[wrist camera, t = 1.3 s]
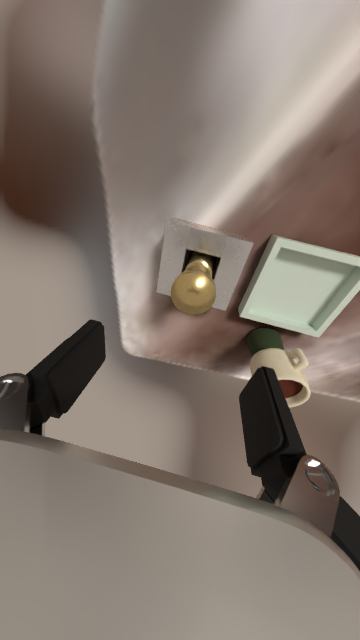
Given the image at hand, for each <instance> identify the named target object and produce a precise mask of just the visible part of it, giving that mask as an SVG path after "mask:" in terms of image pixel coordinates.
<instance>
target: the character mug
mask: <svg viewBox="0 0 360 640" xmlns="http://www.w3.org/2000/svg"><path fill="white" fill-rule="evenodd" d="M247 343H248V346H249V349H250V351H251V354H252V356H253V357H252V358H251V364H250V369H251V373H252V376H253V374H254V373H255V371H256V370H257V369H258V368H261V367H262V366H265V367H269V368H272V369H274V370H275V373H276V375H277V378H278V381H279V384H280V386H281V389H282V392H283V394H284V397H285V399H286V401H287V404H288V406H289V407H295V406H298V405H301V404H303V403H304V402H306V401H307V400H308V399H309V397H310V394H311V391H310V388H309V385H308V383H307V381H306V379H305V376H304V374H303V372H302V369H304V368H305V367H307V366H308V364H309V363H308V360H307V358H306V357H305V355H304V353H303V352H302V350H301V349H299V348H296V349H294V350H293V351H292V352H290V353H288V352H287V351H284V348H283V344H282V340H281V337H280V334H279V333H278V332H277V331H276V330H274V329H270V328H259V329H256V330H253V331H252V332H251V333H250V334H249V335H248V338H247ZM296 357H298V359H299V362H297V361H296V359H295V358H296Z"/></svg>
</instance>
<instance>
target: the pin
mask: <svg viewBox="0 0 360 640" xmlns="http://www.w3.org/2000/svg"><path fill="white" fill-rule="evenodd" d="M212 263H213V257H212V255H209V254H205V253H201V252H197V251H195V252H194V253H193V255H192V257H191V259H190V261H189V263H188V265H187V267H186V269H185V271H184V272H182V273H181V274H179V275H178V276H177V278H176V279H175V281H174V283H173V285H172V287H171V299H172V301H173V303H174V305H175V306H176V307H177V308H178V309H179V310H180V311H182V312H184V313H187V314H192V315H197V314H201V313H204V312H206V311H207V310H209V309H210V308H211V307H212V305H213V304H214V302H215V298H216V286H215V283H214V280H213V279H212Z"/></svg>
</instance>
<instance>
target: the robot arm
mask: <svg viewBox="0 0 360 640" xmlns="http://www.w3.org/2000/svg"><path fill="white" fill-rule="evenodd" d="M105 357H106V355H105V336H104V326H103V325H102V323H101V322H99V321H95V320H89V321H88V322H87V323H86V324H85V325H83V326H82V327H81V328H80V329H79V330H78V331H76V333H74V334H73V335H72V336H71V337H70V338H68V339H66V340H65V341H64V342H63V343H62V344H60V345H59V346H58V347H57V348H56V349H55V350H54V351H52V353H50V354H49V355H48V356H47V357H46V358H44V359H43V360H42V361H41V362H40V363H39V364H38V365H37V366H35V367H34V368H33V369H32V370H31V371H30V372H29V373H27V374H26V375H24V374H22V373H12V374H7V375H4V376H1V377H0V640H360V516H359V515H358V514H357V513H356V512H355V511H354V510H353V509H352V508H351V507H350V506H349V505H348V503H346V501H345V500H344V499H343V498H342V497H340V490H339V486H338V483H337V481H336V479H335V477H334V475H333V474H332V473H331V471H330V470H329V469H328V467H326V465H325V464H323V463H322V462H321V461H320V460H319V459H317V458H315V457H313V456H310V455H307V454H306V452H305V449H304V446H303V444H302V441H301V438H300V436H299V433H298V430H297V428H296V425H295V423H294V420H293V417H292V414H291V412H290V409H289V406H288V404H287V401H286V399H285V397H284V394H283V392H282V389H281V386H280V384H279V381H278V378H277V375H276V373H275V370H274V369H272V368H269V367H265V366H262V367H261V368H258V369H257V370H256V371H255V373H254V374H253V376H252V377H251V379H250V380H249V382H248V383H247V385H246V386H245V388H244V389H243V391H242V392H241V394H240V396H239V402H240V409H241V418H242V424H243V433H244V441H245V449H246V456H247V463H248V466H249V467H251V473H252V475H255V476H258V477H261V480H262V485H263V487H262V488H261V490H260V492H259V494H258V495H257V497H256V498H253V497H250V496H247V495H243V494H240V493H237V492H234V491H231V490H228V489H224V488H221V487H218V486H214V485H211V484H208V483H204V482H200V481H197V480H194V479H190V478H187V477H184V476H181V475H177V474H174V473H170V472H167V471H164V470H160V469H157V468H154V467H150V466H147V465H143V464H140V463H137V462H133V461H129V460H126V459H123V458H119V457H116V456H113V455H109V454H105V453H102V452H99V451H95V450H92V449H88V448H85V447H81V446H78V445H74V444H71V443H67V442H64V441H60V440H56V439H52V438H49V437H45V422H46V421H47V420H48V419H49V418H50V416H51V417H55V418H60V417H61V415H62V414H63V413H66V412H67V411H68V410H69V409H70V407H71V406H72V405H73V403H74V402H75V401H76V399H77V398H78V396H79V395H80V394H81V392H82V391H83V390H84V388H85V387H86V386H87V384H88V383H89V382H90V380H91V379H92V377H93V376H94V375H95V373H96V372H97V370H98V369H99V368H100V366H101V365H102V363H103V362H104V360H105Z"/></svg>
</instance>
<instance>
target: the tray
mask: <svg viewBox="0 0 360 640" xmlns="http://www.w3.org/2000/svg"><path fill="white" fill-rule="evenodd" d="M359 290H360V256H357V255H353V254H349V253H344V252H340V251H336V250H332V249H328V248H324V247H320V246H316V245H312V244H308V243H304V242H300V241H296V240H292V239H288V238H284V237H280V236H276V235H271V237H270V239H269V242H268V244H267V246H266V248H265V250H264V253H263V255H262V257H261V259H260V261H259V263H258V266H257V268H256V270H255V272H254V274H253V277H252V279H251V281H250V283H249V285H248V288H247V290H246V292H245V294H244V296H243V299H242V301H241V303H240V305H239V307H238V311H239V315H240V317H243V318H247V319H251V320H254V321H258V322H262V323H266V324H270V325H273V326H277V327H281V328H285V329H289V330H292V331H296V332H300V333H304V334H308V335H311V336H315V337H320V335H321V334H322V333H323V332H324V331H325V330H326V328H327V327H328V326H329V325H330V324H331V323H332V321H333V320H334V319H335V318H336V317H337V316H338V314H339V313H340V312H341V311H342V310H343V309H344V308H345V306H346V305H347V304H348V303H349V302H350V301H351V299H352V298H353V297H354V296H355V295H356V294H357V292H358V291H359Z"/></svg>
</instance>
